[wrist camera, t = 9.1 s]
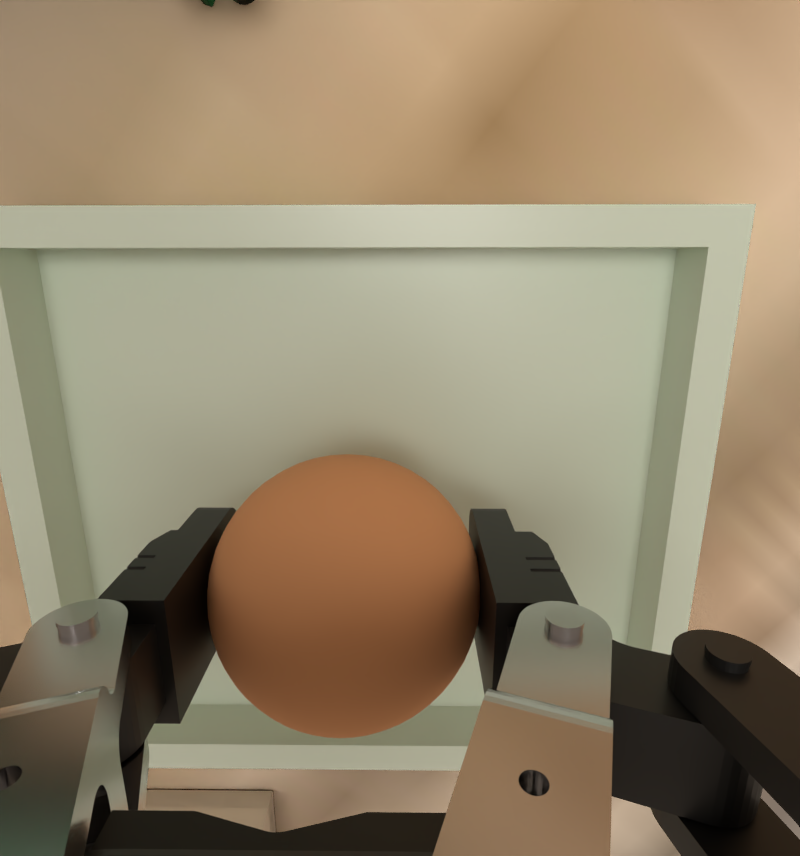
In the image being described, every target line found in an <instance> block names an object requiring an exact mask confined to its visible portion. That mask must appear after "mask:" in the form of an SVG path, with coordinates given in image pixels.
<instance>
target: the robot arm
mask: <svg viewBox="0 0 800 856" xmlns="http://www.w3.org/2000/svg"><path fill="white" fill-rule="evenodd" d="M235 512H236V510H235V509H234V508H206V507H199V508H197V509H196V510H195V511H194V512H193V513H192V514H191V515H190V516H189V518H188V519H187V520H186V521H185V522H184V523H183V525H182V526H181V527H180V528H179V529H178V530H170V531H168V532H166V533H165V534H163V535H161V536H159V537H157V538H156V539H154V540H152V541H150V542H149V543H148V544H147V546H146V547H145V548H144V549H143V550H142V551H141V552H140V553H139V554H138V557H137V558H135V559H134V560H133V561H132V562H131V563H130V564H129V565H128V566H127V570H123V572H122V573H121V574H120V575H119V576H118V577H117V578H116V579H115V580H114V581H113V582H112V583H111V585H110V586H109V587H108V588H107V589H106V590H105V591H104V592H103V593H102V594H101V595H100V596H99V598H98V599H92V600H85V601H80V602H76V603H72V604H69V605H66V606H64V607H61V608H59V609H56V610H54V611H52V612H50V613H49V614H47V615H45V616H44V617H42V618H41V619H39V620H38V621H37V622H36V623H35V624H33V626H32V627H31V628H30V629H29V631H28V632H27V634H26V636H25V639H24V641H23V643H20V644H15V645H10V646H5V647H0V856H610V838H611V797H612V796H613V797H617V798H620V799H623V800H627V801H630V802H634V803H637V804H640V805H644V806H647V807H650V808H651V810H652V812H653V815H654V817H655V818H656V820H657V822H658V823H659V825H660V826H661V828H662V829H663V830H664V832H665V833H666V835H667V836H668V837H669V839H670V840H671V842H672V843H673V845H674V846H675V847H676V849H677V850H678V852H679V853H680V854H681V856H800V840H799V839H798V837H797V836H796V835H795V834H794V833H793V832H792V831H791V830H790V829H789V828H788V827H787V826H786V824H784V822H783V821H782V820H781V819H780V818H779V817H778V816H777V815H776V814H775V813H774V812H773V811H772V810H771V808H770V807H769V806H768V805H767V804H766V803H765V802H764V801H763V800H762V799H761V798H760V797H761V794H762V789H763V788H764V789H765V790H766V791H767V792H768V793H769V794H770V795H771V797H772V798H773V799H774V800H775V801H776V802H777V803H778V804H779V805H780V806H781V807H782V808H783V809H784V810H785V811H786V812H787V813H788V814H789V815H790V816H791V817H792V819H793V820H794V821H795V822H796V823H797V824H798V825H799V827H800V677H799V676H798V675H796V674H795V673H794V672H793V671H791V670H790V669H789V668H787V667H786V666H785V665H783V664H782V663H781V662H779V661H778V660H777V659H776V658H774V657H773V656H772V655H770V654H769V653H768V652H766V651H765V650H763V649H762V648H760V647H759V646H757V645H755V644H753V643H751V642H749V641H747V640H745V639H743V638H740V637H737V636H735V635H731V634H728V633H724V632H719V631H713V630H691V631H687V632H684V633H682V634H680V635H679V636H677V637H676V638H675V640H674V641H673V644H672V650H671V655H668V654H664V653H659V652H654V651H649V650H645V649H640V648H636V647H632V646H628V645H625V644H622V643H619V642H617V641H615V640H613V639H612V631H611V629H610V627H609V625H608V624H607V622H606V621H605V620H604V619H603V618H602V617H600V616H599V615H598V614H596V613H595V612H593V611H591V610H589V609H587V608H585V607H582V606H579V604H578V602H577V600H576V598H575V597H574V595H573V593H572V591H571V589H570V587H569V585H568V583H567V581H566V579H565V577H564V575H563V573H562V572H561V569H560V567H559V565H558V563H557V561H556V560H555V557H554V555H553V553H552V551H551V549H550V547H549V545H548V543H547V542H545V541H544V540H543V539H541V538H540V537H538V536H537V535H536V534H534V533H533V532H522V531H515V530H514V528H513V525H512V523H511V520H510V518H509V515H508V513H507V511H506V509H470V514H469V536H470V538H471V541H472V544H473V547H474V550H475V553H476V556H477V561H478V568H479V580H480V611H479V620H478V625H477V629H476V632H475V636H474V639H475V644H476V650H477V656H478V661H479V667H480V672H481V678H482V684H483V689H484V695H485V696H484V699H483V701H482V705H481V708H480V711H479V714H478V717H477V720H476V723H475V726H474V729H473V732H472V735H471V738H470V742H469V745H468V748H467V751H466V754H465V757H464V760H463V763H462V766H461V769H460V772H459V776H458V779H457V782H456V785H455V788H454V791H453V794H452V797H451V800H450V803H449V806H448V809H447V813H383V812H366V813H362V814H358V815H353V816H349V817H345V818H341V819H336V820H332V821H328V822H324V823H319V824H315V825H311V826H307V827H302V828H298V829H294V830H290V831H285V832H268V831H264V830H261V829H257V828H254V827H250V826H246V825H243V824H239V823H236V822H232V821H229V820H225V819H222V818H218V817H215V816H211V815H208V814H204V813H201V812H197V811H157V810H145V803H146V791H147V779H148V767H149V746H148V739H147V736H148V734H149V732H150V730H151V729H152V727H153V725H154V724H180V723H181V721H182V719H183V717H184V715H185V713H186V711H187V709H188V707H189V705H190V703H191V701H192V699H193V697H194V695H195V693H196V691H197V689H198V687H199V685H200V683H201V681H202V679H203V676H204V674H205V672H206V670H207V668H208V666H209V664H210V662H211V660H212V658H213V656H214V654H215V652H216V648H215V645H214V643H213V639H212V635H211V631H210V626H209V621H208V609H207V588H208V579H209V573H210V569H211V564H212V561H213V557H214V553H215V550H216V547H217V545H218V543H219V541H220V538H221V536H222V534H223V532H224V530H225V528H226V526H227V525H228V523H229V521H230V520H231V518H232V517H233V515H234V514H235Z"/></svg>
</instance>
